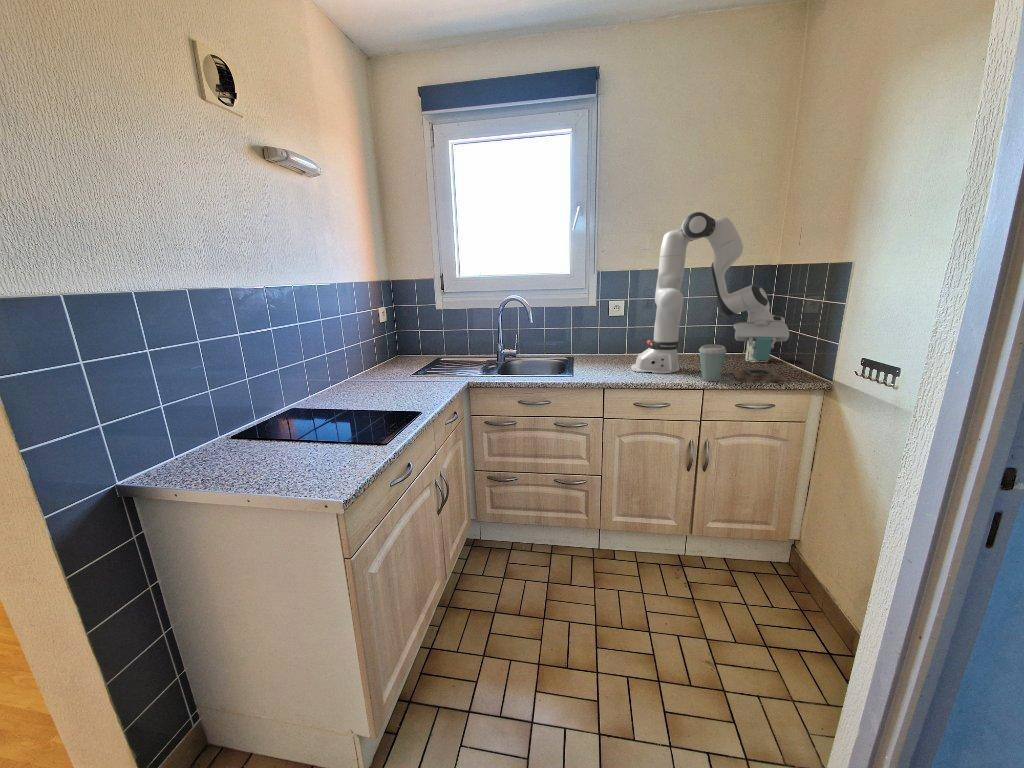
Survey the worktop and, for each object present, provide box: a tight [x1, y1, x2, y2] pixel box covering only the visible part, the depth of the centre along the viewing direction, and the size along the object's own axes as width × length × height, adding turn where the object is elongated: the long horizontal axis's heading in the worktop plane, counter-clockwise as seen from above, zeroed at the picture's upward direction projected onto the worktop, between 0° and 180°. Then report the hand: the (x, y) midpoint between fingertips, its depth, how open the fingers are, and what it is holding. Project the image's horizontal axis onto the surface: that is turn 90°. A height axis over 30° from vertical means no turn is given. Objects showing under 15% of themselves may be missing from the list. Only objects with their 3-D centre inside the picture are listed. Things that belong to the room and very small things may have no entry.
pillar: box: [753, 338, 772, 361], centre depth 175 cm, size 5×5×9 cm
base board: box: [731, 368, 788, 383], centre depth 178 cm, size 18×13×3 cm
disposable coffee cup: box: [698, 343, 727, 382], centre depth 176 cm, size 11×11×15 cm
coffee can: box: [744, 341, 769, 363], centre depth 209 cm, size 10×10×14 cm
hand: (762, 348), depth 174 cm, fingers closed on pillar, 5 cm apart
